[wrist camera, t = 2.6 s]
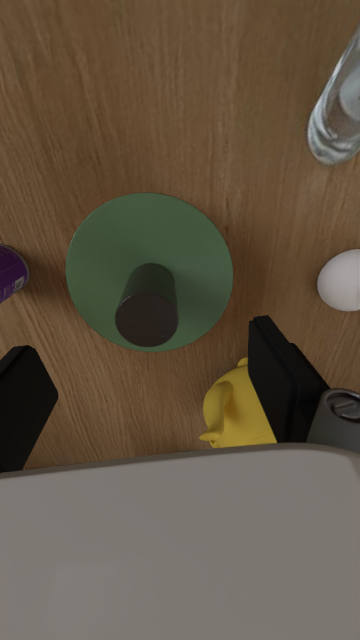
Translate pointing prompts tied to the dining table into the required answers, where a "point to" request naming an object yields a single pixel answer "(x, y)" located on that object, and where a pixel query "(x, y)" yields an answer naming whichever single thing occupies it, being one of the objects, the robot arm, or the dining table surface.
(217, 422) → the teapot
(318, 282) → the garlic bulb
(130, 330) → the lid
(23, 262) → the container
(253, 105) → the dining table surface
